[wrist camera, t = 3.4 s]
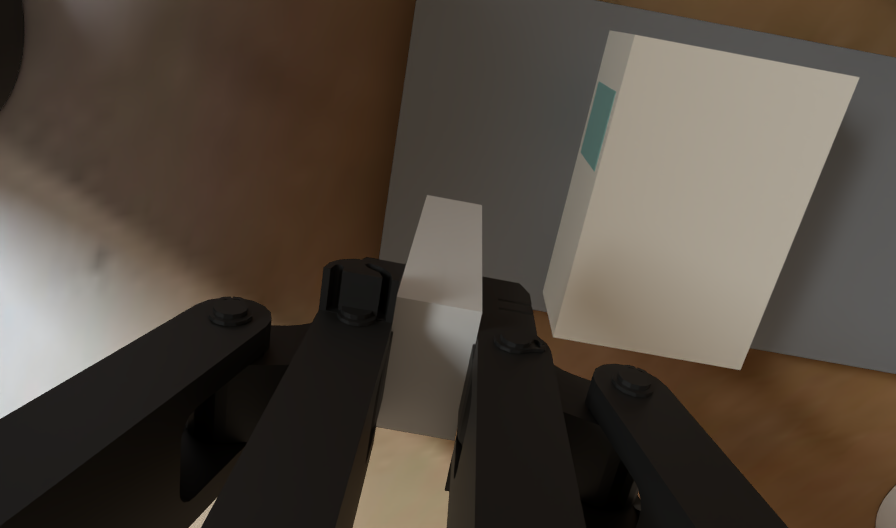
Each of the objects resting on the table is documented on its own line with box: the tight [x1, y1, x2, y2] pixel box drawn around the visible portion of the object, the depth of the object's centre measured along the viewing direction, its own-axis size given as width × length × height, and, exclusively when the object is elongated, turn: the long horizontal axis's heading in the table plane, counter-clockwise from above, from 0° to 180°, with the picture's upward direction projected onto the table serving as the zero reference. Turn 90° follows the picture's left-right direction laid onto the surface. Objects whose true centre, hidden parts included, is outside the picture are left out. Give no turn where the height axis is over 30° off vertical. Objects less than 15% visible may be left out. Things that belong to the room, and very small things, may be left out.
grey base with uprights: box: [379, 0, 896, 374], centre depth 25 cm, size 30×14×12 cm, turn 80°
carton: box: [543, 30, 860, 370], centre depth 26 cm, size 8×12×4 cm, turn 170°
